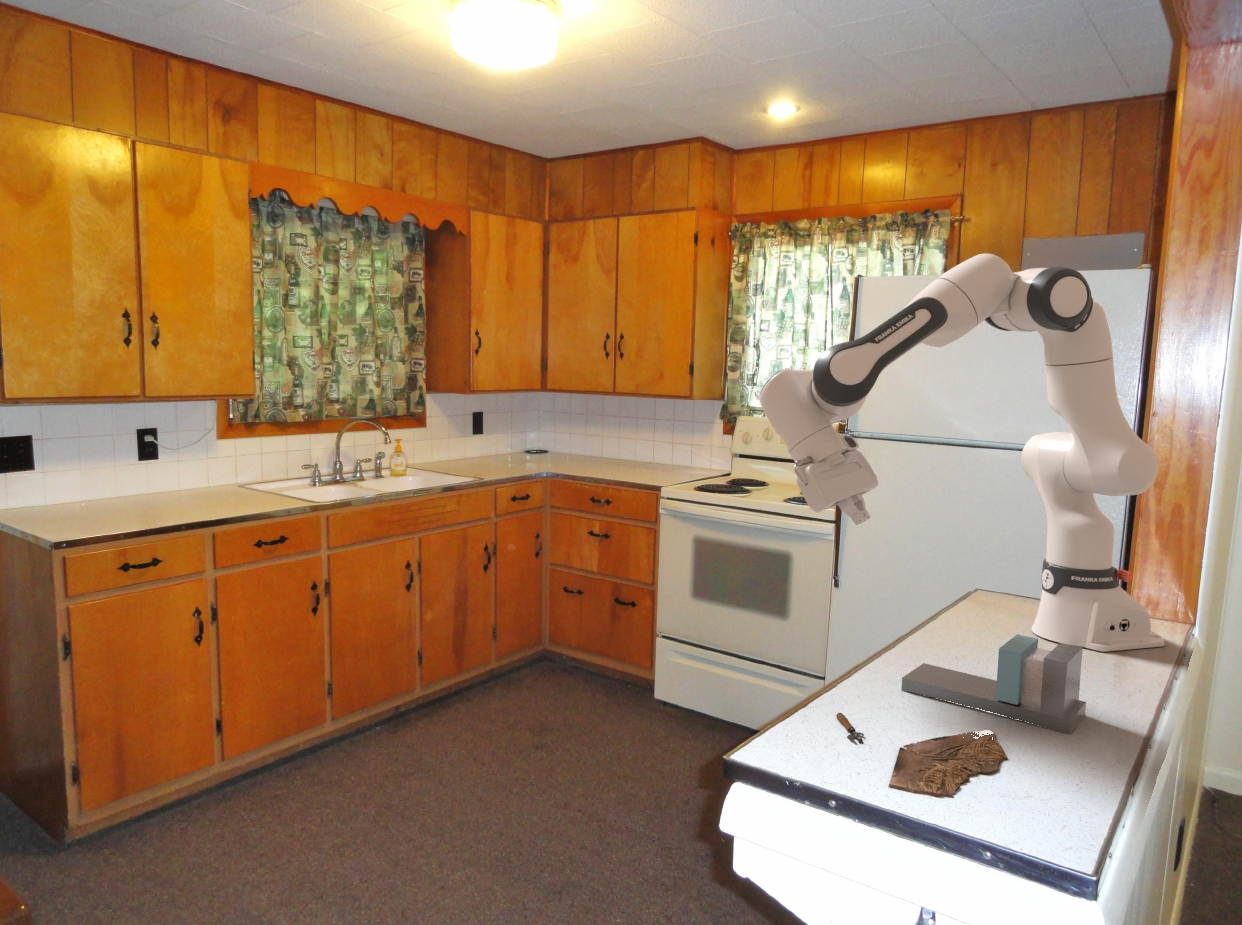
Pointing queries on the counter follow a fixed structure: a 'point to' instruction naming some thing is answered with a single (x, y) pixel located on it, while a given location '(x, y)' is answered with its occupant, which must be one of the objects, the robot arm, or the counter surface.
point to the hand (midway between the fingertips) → (863, 521)
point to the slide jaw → (1012, 667)
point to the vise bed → (978, 692)
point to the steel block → (1033, 677)
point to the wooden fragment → (945, 763)
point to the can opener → (849, 729)
